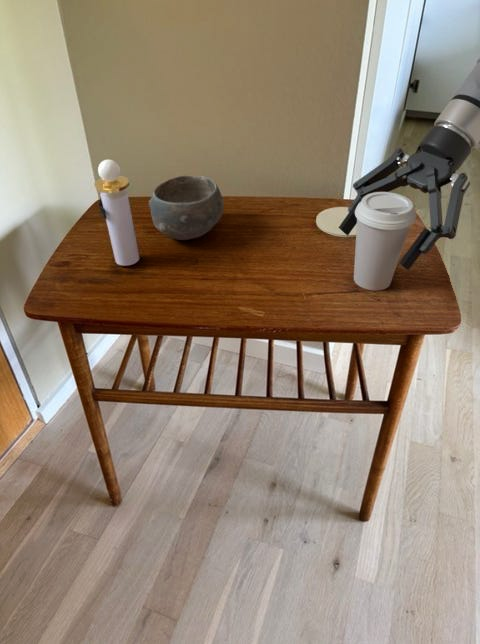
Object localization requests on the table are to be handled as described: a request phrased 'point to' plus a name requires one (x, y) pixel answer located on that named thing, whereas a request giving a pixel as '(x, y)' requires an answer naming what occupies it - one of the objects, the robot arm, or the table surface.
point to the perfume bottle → (117, 212)
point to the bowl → (186, 206)
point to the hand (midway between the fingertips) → (371, 248)
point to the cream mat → (334, 221)
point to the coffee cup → (380, 237)
